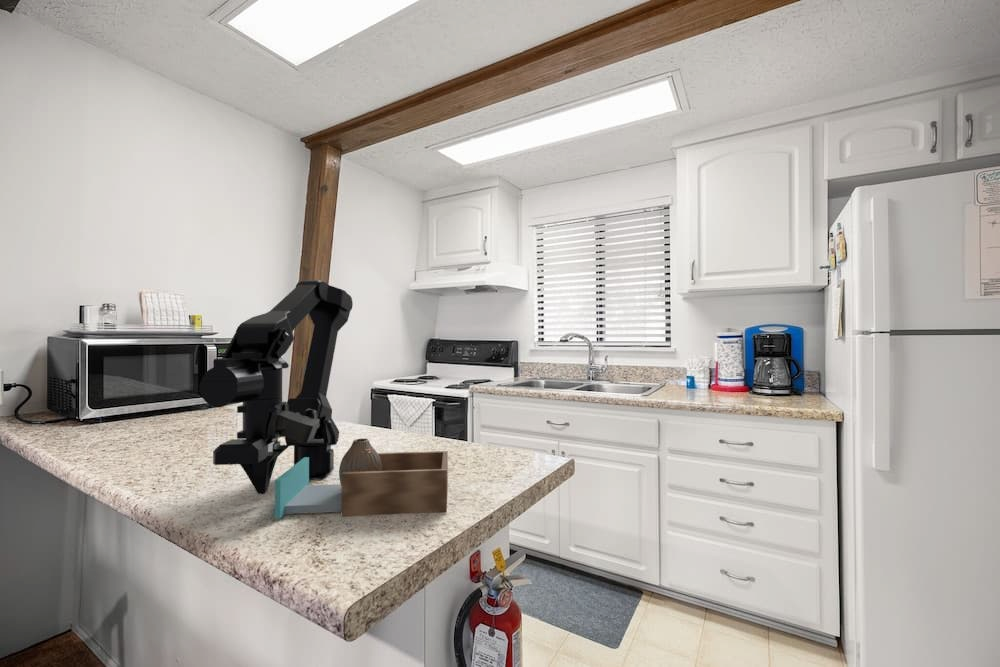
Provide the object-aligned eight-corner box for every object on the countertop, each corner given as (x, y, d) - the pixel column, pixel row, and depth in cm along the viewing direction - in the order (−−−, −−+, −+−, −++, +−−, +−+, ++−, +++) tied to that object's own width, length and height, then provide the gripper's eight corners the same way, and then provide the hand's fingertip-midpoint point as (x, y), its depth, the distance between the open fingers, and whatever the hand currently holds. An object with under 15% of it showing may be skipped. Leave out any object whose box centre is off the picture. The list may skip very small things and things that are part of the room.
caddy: (341, 516, 67) (341, 473, 67) (358, 489, 79) (358, 453, 79) (446, 511, 69) (446, 470, 69) (447, 486, 81) (447, 451, 81)
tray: (274, 518, 66) (274, 480, 66) (304, 489, 78) (304, 457, 79) (383, 513, 67) (383, 476, 67) (394, 485, 80) (394, 454, 80)
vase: (375, 500, 70) (375, 444, 70) (332, 499, 70) (332, 444, 70) (387, 485, 77) (387, 435, 77) (348, 485, 77) (348, 435, 77)
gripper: (293, 405, 63) (292, 513, 63) (329, 390, 82) (329, 474, 82) (211, 406, 62) (210, 517, 62) (267, 391, 81) (267, 476, 81)
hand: (262, 493), depth 72 cm, fingers closed
